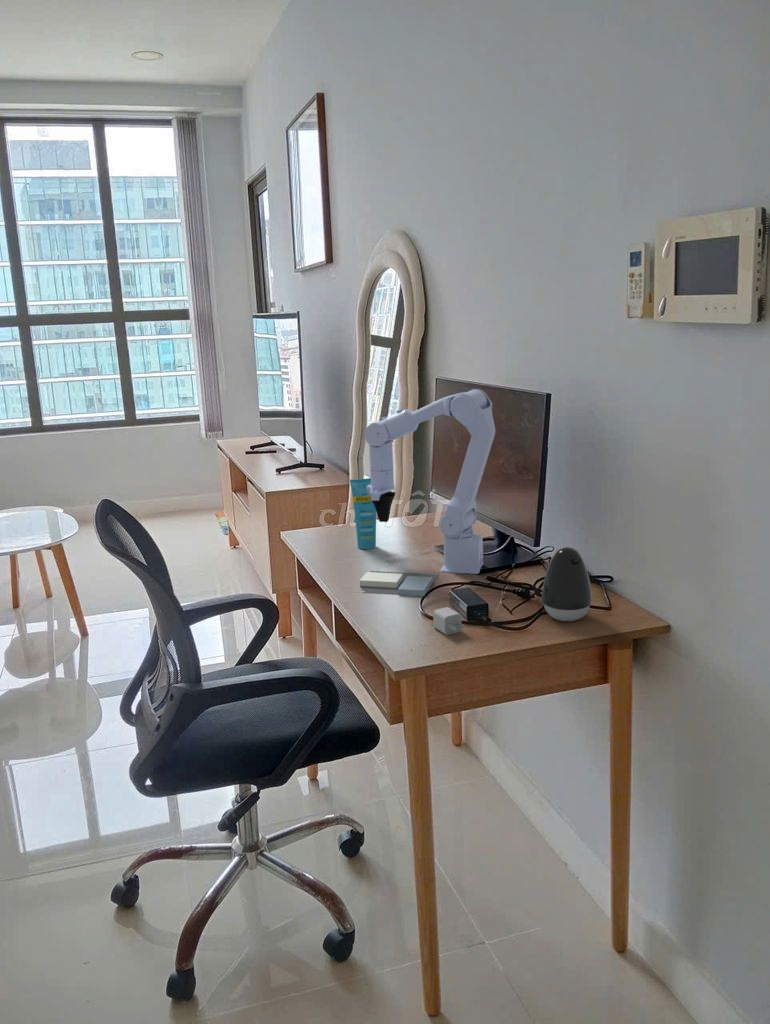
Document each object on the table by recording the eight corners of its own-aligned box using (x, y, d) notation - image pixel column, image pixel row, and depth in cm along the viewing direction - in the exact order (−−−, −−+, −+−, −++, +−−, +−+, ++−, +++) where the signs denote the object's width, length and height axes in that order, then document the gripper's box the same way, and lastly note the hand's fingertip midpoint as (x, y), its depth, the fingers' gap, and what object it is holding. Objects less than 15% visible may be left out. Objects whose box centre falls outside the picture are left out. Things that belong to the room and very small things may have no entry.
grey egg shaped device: (556, 629, 171) (557, 558, 167) (533, 612, 181) (533, 543, 177) (601, 622, 174) (603, 551, 170) (576, 605, 183) (577, 537, 179)
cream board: (402, 573, 202) (396, 582, 197) (403, 579, 203) (396, 588, 197) (366, 571, 205) (359, 580, 199) (367, 577, 205) (359, 585, 200)
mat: (438, 575, 205) (438, 574, 205) (424, 597, 191) (423, 596, 191) (370, 572, 210) (370, 570, 210) (352, 593, 196) (352, 592, 196)
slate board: (407, 581, 201) (407, 575, 201) (432, 582, 200) (432, 577, 199) (398, 594, 193) (398, 588, 192) (423, 596, 191) (423, 590, 191)
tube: (355, 551, 227) (351, 481, 222) (352, 546, 232) (348, 477, 227) (382, 548, 229) (379, 478, 224) (378, 543, 233) (375, 474, 228)
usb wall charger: (449, 624, 176) (449, 606, 175) (468, 635, 170) (468, 616, 169) (433, 628, 174) (432, 610, 173) (451, 640, 168) (451, 621, 167)
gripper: (374, 462, 220) (376, 513, 224) (357, 475, 207) (360, 528, 210) (400, 463, 218) (402, 514, 222) (385, 475, 205) (387, 529, 209)
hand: (383, 521), depth 216 cm, fingers closed
